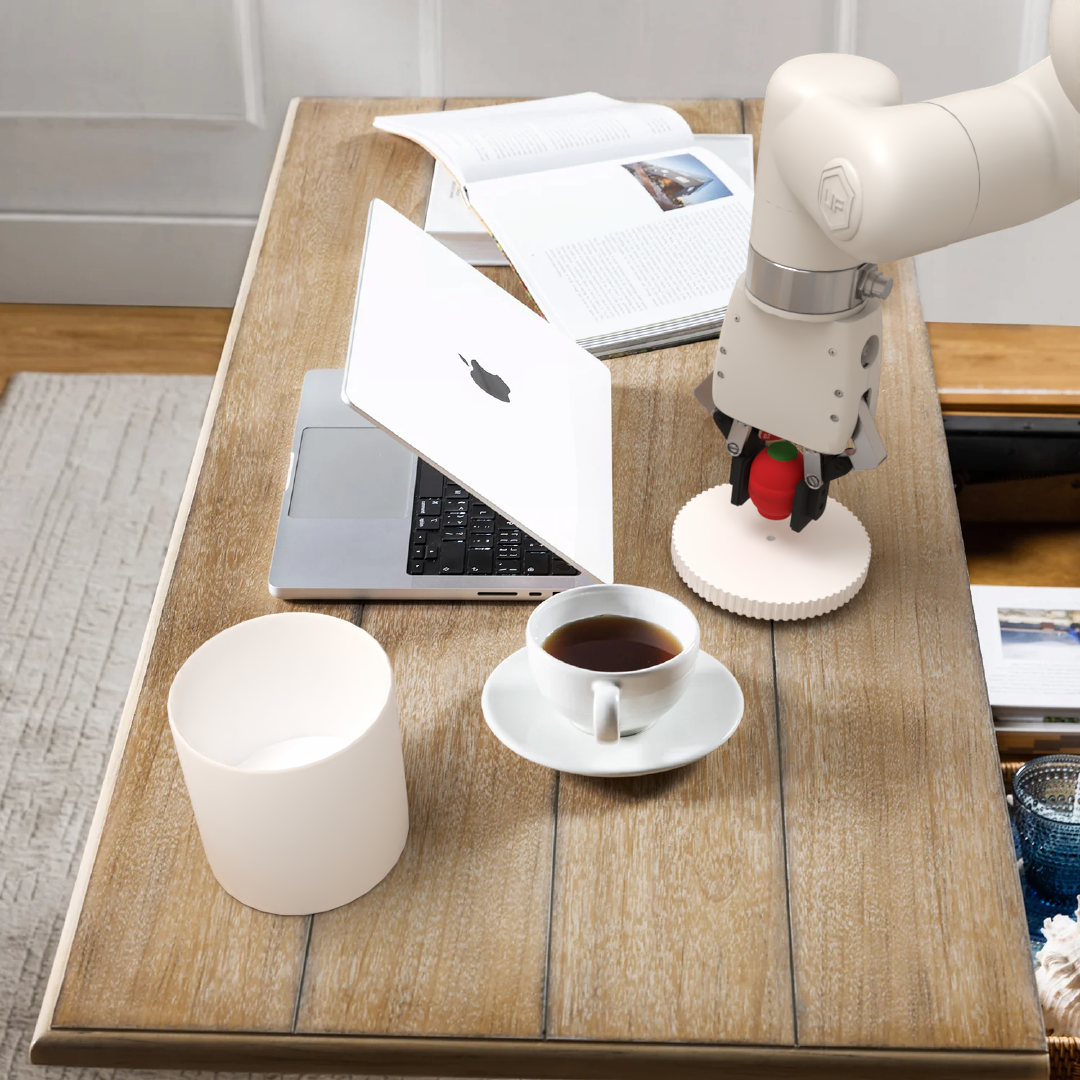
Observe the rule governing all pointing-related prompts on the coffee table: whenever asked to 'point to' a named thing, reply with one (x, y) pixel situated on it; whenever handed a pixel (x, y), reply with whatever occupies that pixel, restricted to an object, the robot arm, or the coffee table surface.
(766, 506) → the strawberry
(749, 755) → the coffee table surface
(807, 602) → the plastic lid
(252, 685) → the cup
